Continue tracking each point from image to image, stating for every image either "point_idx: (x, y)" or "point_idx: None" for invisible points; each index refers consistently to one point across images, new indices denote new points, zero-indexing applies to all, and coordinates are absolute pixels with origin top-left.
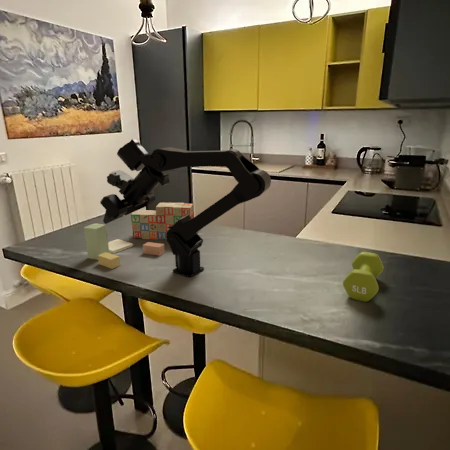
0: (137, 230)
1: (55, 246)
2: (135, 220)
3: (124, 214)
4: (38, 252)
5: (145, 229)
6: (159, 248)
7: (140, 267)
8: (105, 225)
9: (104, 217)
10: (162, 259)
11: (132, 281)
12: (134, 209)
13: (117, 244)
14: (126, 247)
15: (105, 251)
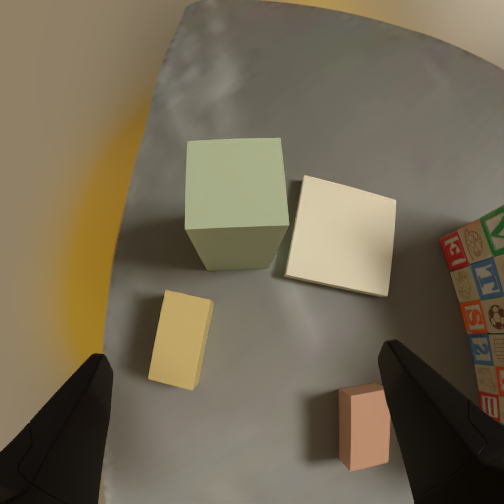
0: (465, 251)
1: (251, 57)
2: (492, 234)
3: (380, 354)
4: (194, 54)
5: (480, 284)
6: (349, 468)
7: (213, 461)
8: (282, 226)
9: (60, 392)
10: (309, 485)
11: (117, 483)
12: (412, 464)
13: (352, 239)
14: (352, 289)
15: (246, 264)
